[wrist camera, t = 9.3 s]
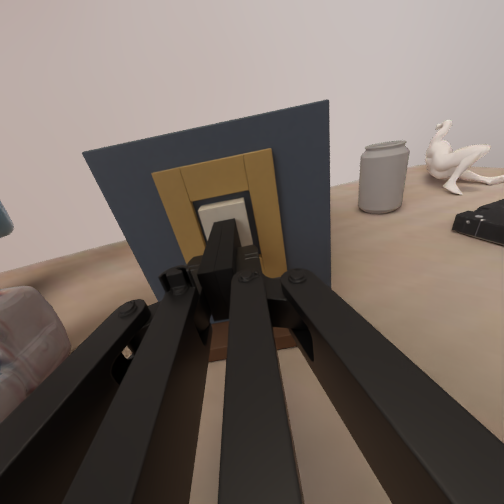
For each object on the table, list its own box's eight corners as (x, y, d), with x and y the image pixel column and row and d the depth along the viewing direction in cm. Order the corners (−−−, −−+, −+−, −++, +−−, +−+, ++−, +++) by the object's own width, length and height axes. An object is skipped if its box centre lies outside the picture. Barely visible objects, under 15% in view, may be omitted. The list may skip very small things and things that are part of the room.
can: (369, 201, 47) (374, 141, 41) (408, 204, 41) (419, 136, 36) (350, 211, 44) (352, 148, 38) (389, 217, 38) (398, 144, 32)
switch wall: (345, 337, 19) (353, 87, 10) (170, 369, 19) (41, 154, 11) (305, 266, 29) (294, 116, 21) (194, 288, 30) (139, 149, 21)
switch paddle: (255, 257, 16) (244, 201, 14) (214, 265, 16) (197, 210, 14) (254, 249, 17) (243, 196, 15) (216, 256, 17) (200, 205, 15)
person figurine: (543, 119, 35) (441, 113, 49) (470, 153, 35) (390, 137, 50) (511, 189, 43) (431, 166, 57) (452, 215, 43) (388, 187, 58)
